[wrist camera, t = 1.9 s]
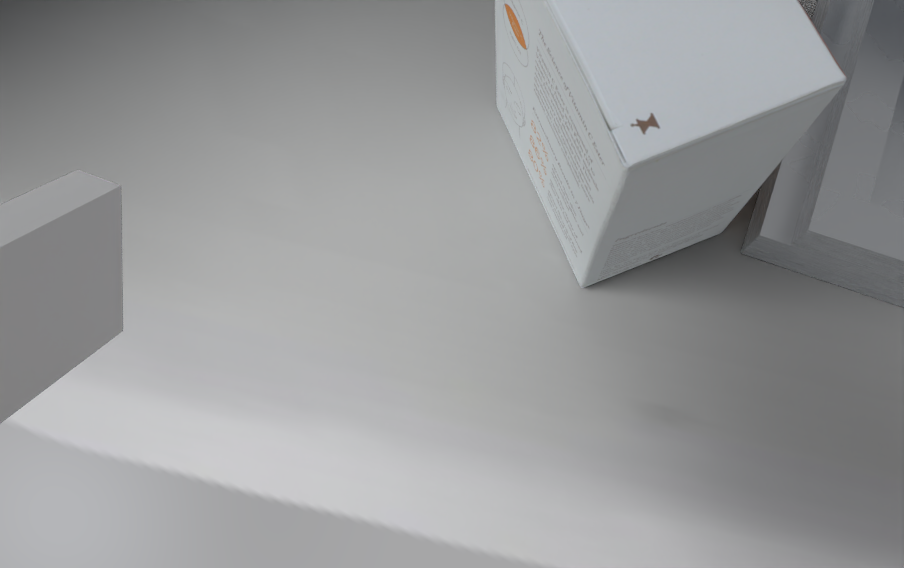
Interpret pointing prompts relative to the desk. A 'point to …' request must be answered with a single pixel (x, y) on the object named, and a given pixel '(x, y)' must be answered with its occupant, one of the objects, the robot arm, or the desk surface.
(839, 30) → the grey bin
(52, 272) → the robot arm
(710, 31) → the small box
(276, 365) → the desk surface
